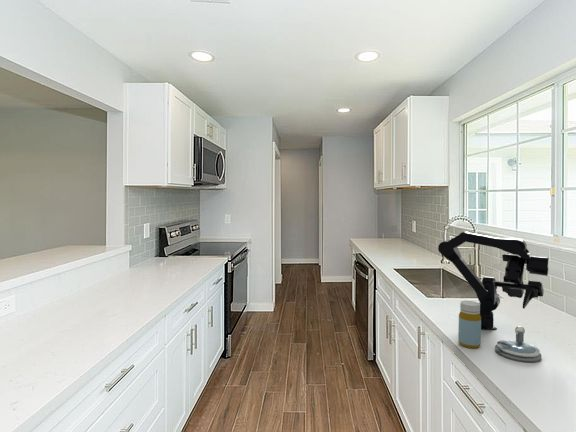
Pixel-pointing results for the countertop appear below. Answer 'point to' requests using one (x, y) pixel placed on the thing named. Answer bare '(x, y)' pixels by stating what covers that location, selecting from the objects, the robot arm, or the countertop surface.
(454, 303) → the countertop surface
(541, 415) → the countertop surface
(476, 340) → the bottle
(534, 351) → the platter
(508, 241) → the robot arm
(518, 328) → the turntable base
